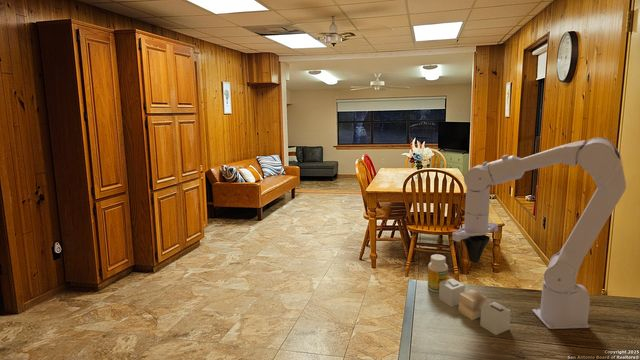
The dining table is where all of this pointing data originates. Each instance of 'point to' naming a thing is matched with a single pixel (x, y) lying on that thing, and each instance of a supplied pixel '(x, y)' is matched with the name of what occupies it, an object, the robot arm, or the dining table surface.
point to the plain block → (471, 304)
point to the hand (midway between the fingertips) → (473, 261)
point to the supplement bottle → (437, 272)
